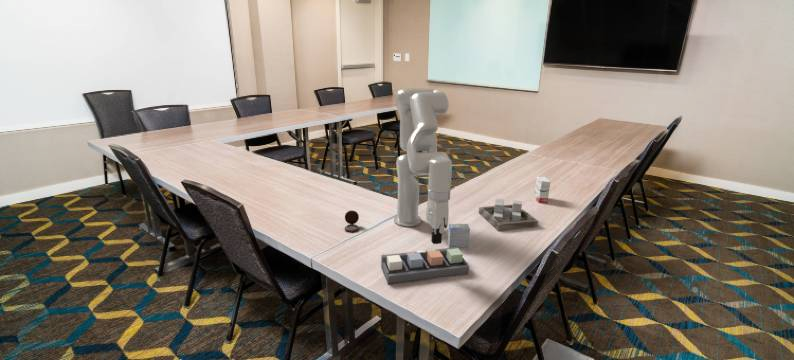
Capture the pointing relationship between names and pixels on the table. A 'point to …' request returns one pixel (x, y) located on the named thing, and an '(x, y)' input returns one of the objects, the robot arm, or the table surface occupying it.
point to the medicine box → (458, 235)
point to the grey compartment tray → (423, 268)
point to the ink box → (542, 189)
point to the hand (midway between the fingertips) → (436, 242)
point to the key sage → (454, 255)
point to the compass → (351, 221)
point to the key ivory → (394, 262)
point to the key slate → (415, 260)
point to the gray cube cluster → (507, 211)
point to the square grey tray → (528, 222)
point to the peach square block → (435, 258)
